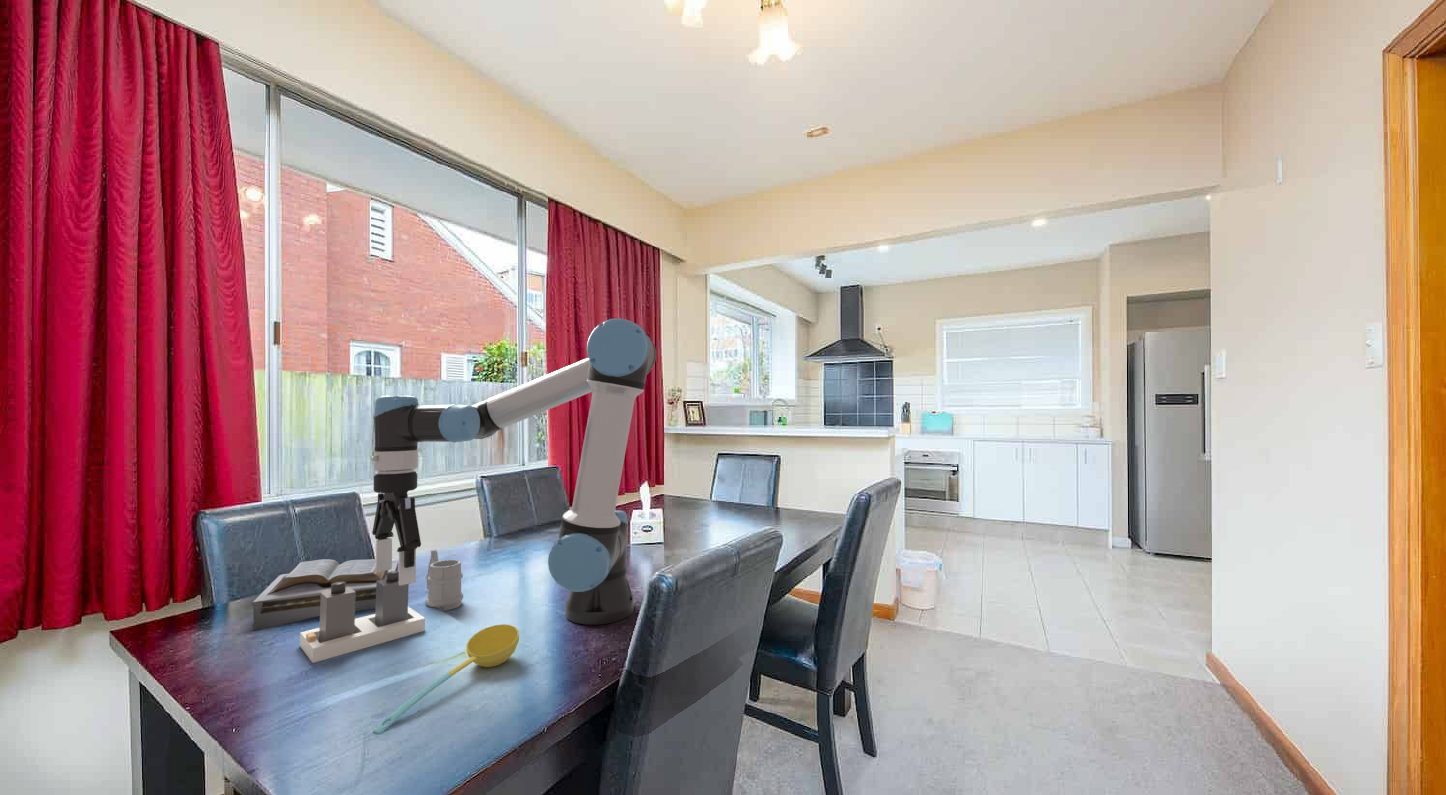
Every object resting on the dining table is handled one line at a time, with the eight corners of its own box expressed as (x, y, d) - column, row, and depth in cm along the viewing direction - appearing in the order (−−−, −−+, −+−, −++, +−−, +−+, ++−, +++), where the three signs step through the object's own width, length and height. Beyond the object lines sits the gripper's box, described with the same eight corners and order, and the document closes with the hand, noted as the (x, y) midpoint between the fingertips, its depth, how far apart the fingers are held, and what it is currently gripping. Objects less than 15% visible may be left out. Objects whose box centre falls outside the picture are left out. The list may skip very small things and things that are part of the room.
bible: (289, 595, 126) (290, 555, 126) (413, 585, 134) (414, 547, 134) (229, 634, 104) (231, 585, 104) (382, 620, 112) (384, 574, 112)
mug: (435, 615, 114) (437, 560, 114) (411, 603, 121) (412, 551, 121) (469, 604, 120) (470, 553, 120) (444, 594, 127) (445, 545, 127)
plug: (407, 630, 103) (408, 572, 104) (382, 637, 100) (383, 577, 100) (399, 624, 106) (401, 568, 106) (374, 631, 103) (376, 572, 103)
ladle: (531, 650, 96) (528, 622, 95) (403, 773, 71) (397, 738, 70) (494, 641, 99) (491, 614, 98) (359, 756, 74) (352, 722, 73)
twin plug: (353, 645, 96) (355, 583, 97) (324, 653, 93) (327, 589, 93) (347, 638, 99) (349, 578, 100) (318, 646, 96) (321, 583, 96)
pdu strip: (424, 635, 103) (425, 614, 103) (312, 668, 89) (313, 643, 90) (406, 622, 110) (407, 602, 110) (299, 651, 96) (300, 628, 96)
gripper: (355, 469, 109) (354, 569, 108) (396, 477, 93) (395, 595, 92) (395, 466, 115) (394, 561, 114) (440, 473, 99) (439, 584, 98)
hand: (395, 576), depth 103 cm, fingers open, 13 cm apart
